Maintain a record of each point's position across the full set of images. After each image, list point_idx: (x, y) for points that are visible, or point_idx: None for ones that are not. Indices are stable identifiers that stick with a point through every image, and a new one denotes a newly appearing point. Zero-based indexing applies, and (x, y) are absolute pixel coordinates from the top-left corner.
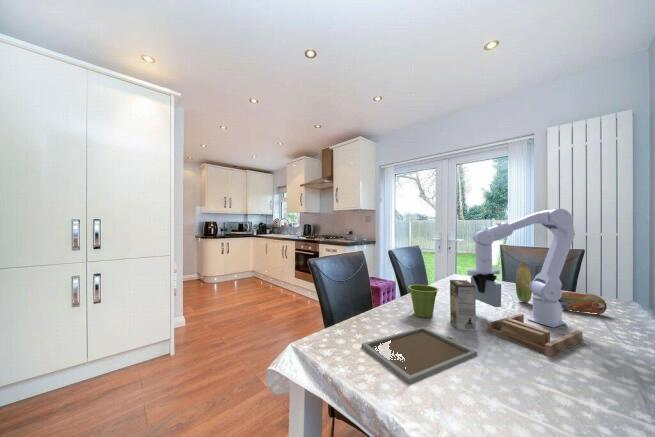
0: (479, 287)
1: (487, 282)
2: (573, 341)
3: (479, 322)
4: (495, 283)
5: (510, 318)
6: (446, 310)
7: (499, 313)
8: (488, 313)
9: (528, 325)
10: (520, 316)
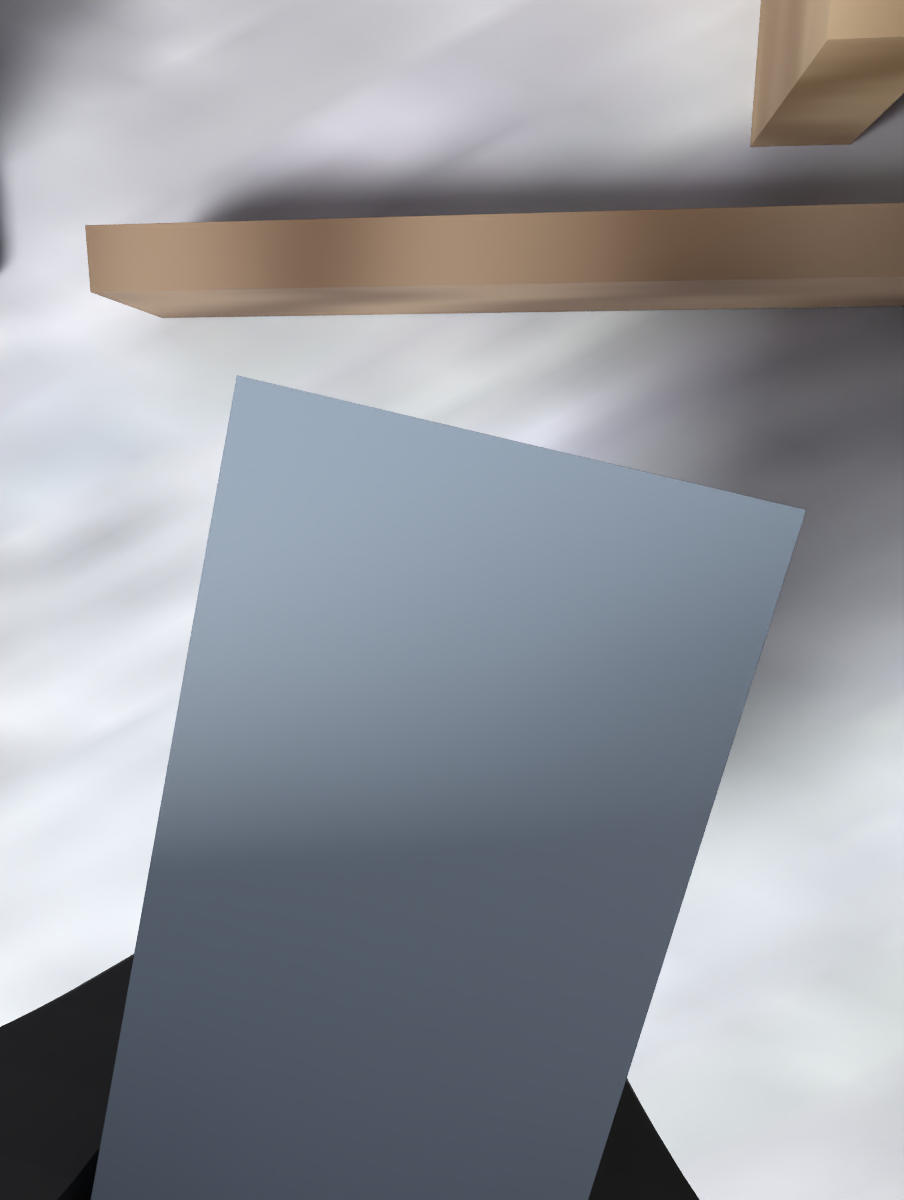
0: None
1: (576, 1176)
2: None
3: (834, 595)
4: (575, 663)
5: (555, 216)
6: (787, 1133)
7: (114, 667)
8: None
9: None
10: (206, 226)
